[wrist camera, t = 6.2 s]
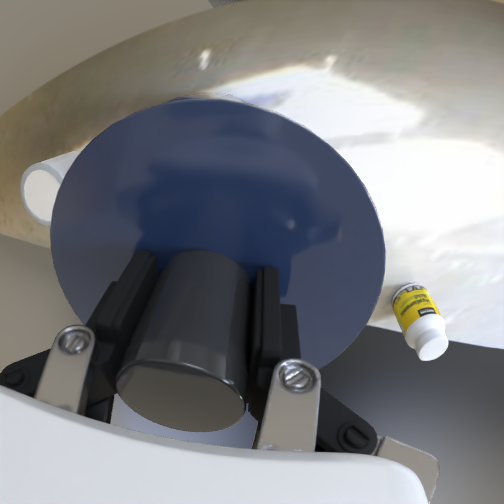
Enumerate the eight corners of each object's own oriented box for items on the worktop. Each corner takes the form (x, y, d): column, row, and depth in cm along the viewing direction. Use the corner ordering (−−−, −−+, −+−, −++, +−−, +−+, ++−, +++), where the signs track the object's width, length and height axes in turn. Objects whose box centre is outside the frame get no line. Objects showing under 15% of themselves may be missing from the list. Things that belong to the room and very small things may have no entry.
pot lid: (51, 99, 9) (-75, 142, 4) (417, 135, 10) (535, 203, 4) (92, 350, 16) (53, 438, 11) (326, 383, 16) (338, 482, 11)
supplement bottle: (421, 275, 37) (452, 325, 28) (429, 302, 39) (455, 351, 31) (385, 293, 38) (409, 347, 30) (395, 318, 41) (417, 371, 32)
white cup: (111, 174, 32) (80, 197, 26) (81, 212, 34) (51, 239, 28) (73, 133, 29) (36, 149, 23) (46, 174, 32) (11, 196, 26)
